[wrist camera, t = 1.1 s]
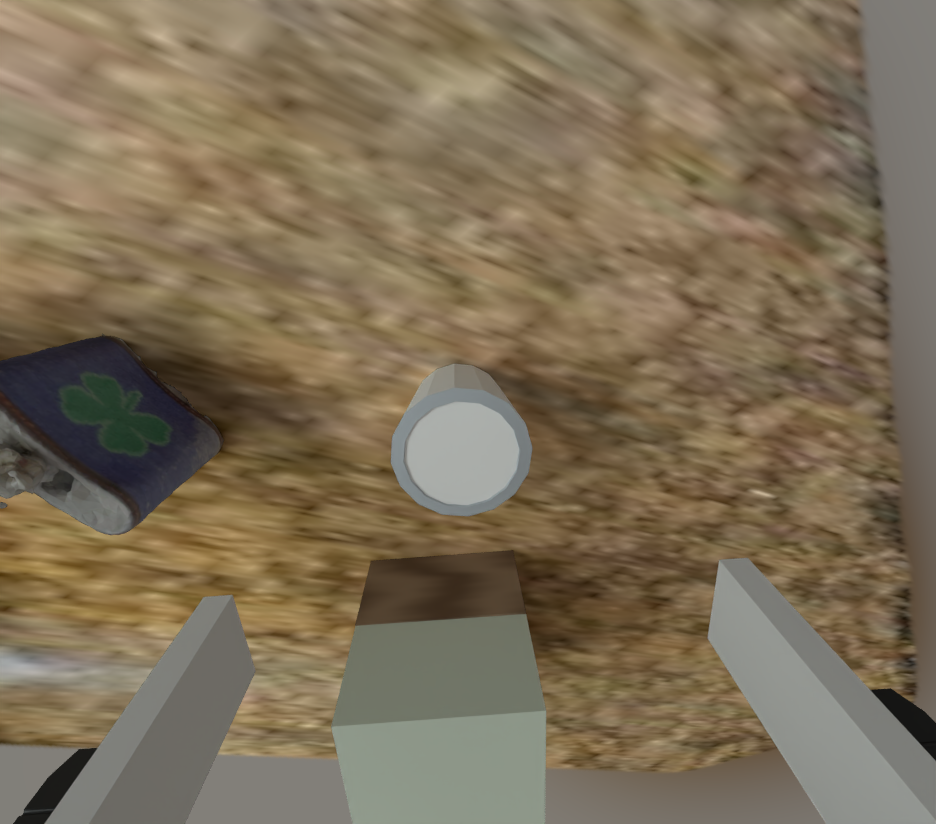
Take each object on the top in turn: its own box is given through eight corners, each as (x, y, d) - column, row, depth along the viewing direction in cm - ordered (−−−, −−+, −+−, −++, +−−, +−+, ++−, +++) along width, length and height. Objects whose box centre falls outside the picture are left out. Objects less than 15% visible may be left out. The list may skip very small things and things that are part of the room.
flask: (233, 439, 29) (118, 543, 19) (202, 465, 30) (73, 581, 19) (108, 323, 26) (-104, 374, 16) (76, 355, 27) (-148, 423, 17)
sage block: (376, 743, 31) (359, 857, 25) (355, 625, 27) (331, 726, 21) (527, 732, 31) (544, 842, 25) (525, 614, 27) (546, 710, 22)
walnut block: (388, 664, 36) (377, 742, 31) (371, 559, 33) (355, 625, 27) (516, 654, 36) (528, 730, 31) (512, 548, 33) (525, 611, 27)
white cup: (482, 332, 27) (493, 362, 21) (531, 427, 29) (555, 481, 23) (382, 386, 28) (362, 430, 22) (437, 474, 30) (434, 538, 24)
